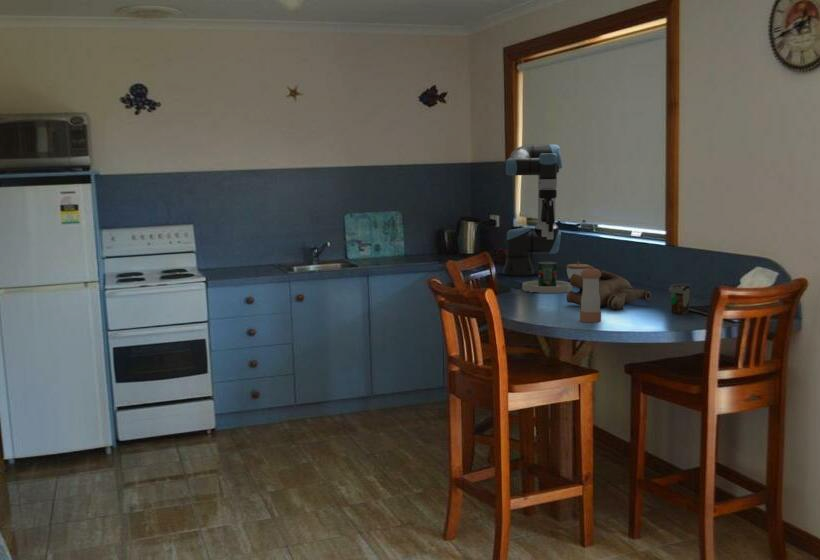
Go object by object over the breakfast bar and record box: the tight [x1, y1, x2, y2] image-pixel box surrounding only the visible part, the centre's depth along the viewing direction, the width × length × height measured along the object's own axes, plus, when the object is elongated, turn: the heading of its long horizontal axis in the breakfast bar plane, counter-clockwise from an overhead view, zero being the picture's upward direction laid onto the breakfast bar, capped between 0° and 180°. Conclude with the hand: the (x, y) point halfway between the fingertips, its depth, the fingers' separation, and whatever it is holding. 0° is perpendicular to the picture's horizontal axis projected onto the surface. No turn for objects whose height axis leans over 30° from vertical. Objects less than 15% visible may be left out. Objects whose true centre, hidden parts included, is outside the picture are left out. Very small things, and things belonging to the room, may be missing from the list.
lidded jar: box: [566, 261, 591, 280], centre depth 399 cm, size 11×11×9 cm
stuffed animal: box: [565, 269, 652, 311], centre depth 331 cm, size 13×31×25 cm
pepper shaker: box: [579, 265, 602, 323], centre depth 296 cm, size 7×7×19 cm
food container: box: [668, 283, 691, 316], centre depth 312 cm, size 12×6×10 cm, turn 150°
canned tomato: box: [537, 261, 558, 287], centre depth 373 cm, size 8×8×11 cm
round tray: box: [521, 279, 573, 294], centre depth 374 cm, size 21×21×3 cm
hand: (547, 238), depth 372 cm, fingers open, 13 cm apart
